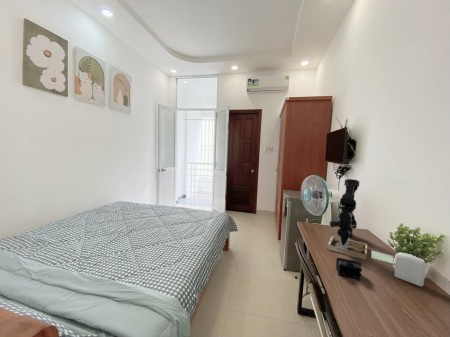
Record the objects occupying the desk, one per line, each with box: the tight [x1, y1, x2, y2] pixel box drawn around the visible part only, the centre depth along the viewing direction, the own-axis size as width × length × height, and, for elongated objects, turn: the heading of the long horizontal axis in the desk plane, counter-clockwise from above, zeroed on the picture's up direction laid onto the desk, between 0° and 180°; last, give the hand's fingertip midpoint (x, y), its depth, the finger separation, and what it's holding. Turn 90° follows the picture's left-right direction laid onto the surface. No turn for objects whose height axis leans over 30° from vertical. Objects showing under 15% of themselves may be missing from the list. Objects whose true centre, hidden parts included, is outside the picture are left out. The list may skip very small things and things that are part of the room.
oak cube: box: [352, 241, 363, 253], centre depth 123 cm, size 4×4×4 cm
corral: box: [326, 235, 368, 261], centre depth 125 cm, size 18×20×2 cm
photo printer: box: [393, 252, 426, 287], centre depth 95 cm, size 10×4×12 cm, turn 39°
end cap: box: [335, 257, 363, 281], centre depth 99 cm, size 10×7×7 cm
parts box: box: [338, 236, 350, 250], centre depth 126 cm, size 4×4×6 cm
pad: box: [370, 250, 395, 265], centre depth 115 cm, size 10×10×1 cm
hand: (343, 242), depth 126 cm, fingers open, 9 cm apart
